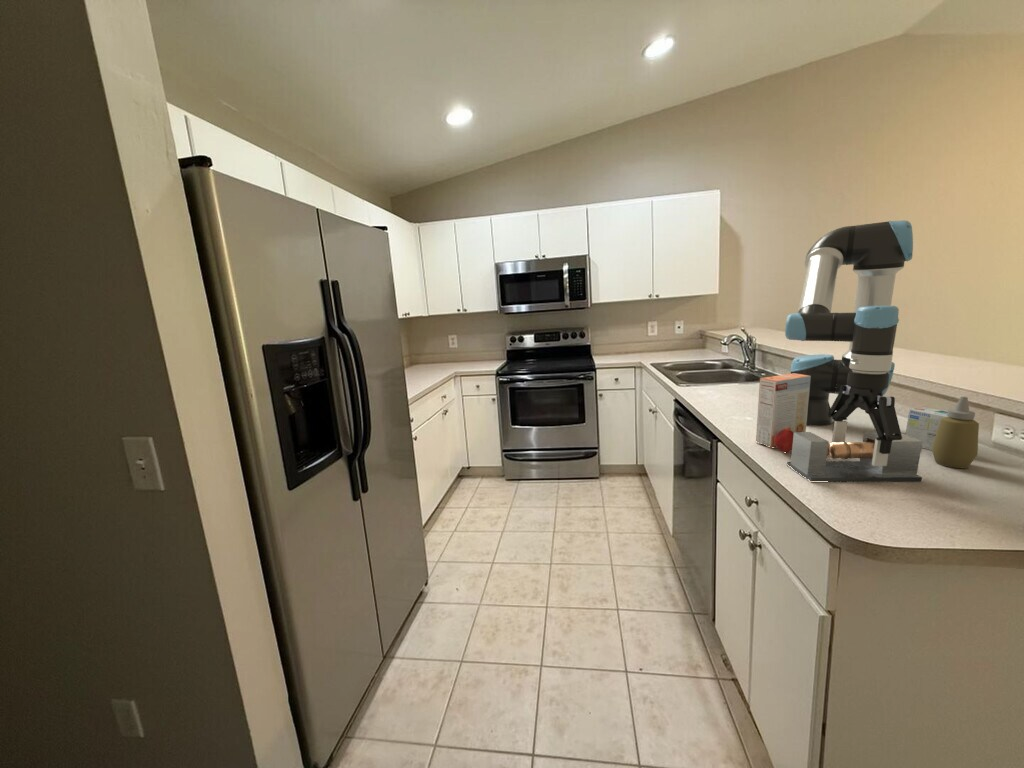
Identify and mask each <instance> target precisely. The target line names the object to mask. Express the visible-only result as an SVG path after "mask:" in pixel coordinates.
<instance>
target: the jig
mask: <svg viewBox="0 0 1024 768" xmlns="http://www.w3.org/2000/svg"><path fill="white" fill-rule="evenodd" d="M905 434H906V433H905ZM905 434H904V433H902V432H901V435H902V439H901V440H893V441H892V444H891V450H890V453H889V454H888V460H887V466H873V465H872V458H859V460H830V461H828V460H827V458H828V457H827V451H828V443H830V442H829V440H827V439H825V438H824V437H821V436H819V435H817V434H815V433H813V432H811V431H806V432H794V436H793V445H792V451H791V456H790V457H791V458H790V461H787V462H786V465H787V464H788V465H789V466H791V467H792V468H793V469H794V470H795V471H797V472H798V473H800V474H801V475H802V476H804V477H806V478H807V479H809V480H810V481H828V482H827V483H920V482H921V483H922V482H923V476H921V475H920V474H918V469H919V464H920V458H921V454H922V453H921V451H922V448H921V447H922V442H923V441H921V440H918V439H915V438H913V437H910V436H907V435H905ZM884 435H885V433H884ZM893 435H895V434H893ZM875 438H878V434H877V432H876V431H867V432H866V431H864V432H863V435H862V441H861V442H875ZM794 470H793V471H794ZM795 471H794V472H795ZM798 473H797V474H798ZM801 475H800V476H801ZM802 476H801V477H802ZM804 477H803V478H804Z"/></svg>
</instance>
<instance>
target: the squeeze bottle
mask: <svg viewBox="0 0 1024 768" xmlns="http://www.w3.org/2000/svg"><path fill="white" fill-rule="evenodd" d="M947 411H948V412H947V416H948V417H944V418H942V419H941V421H940V424H939V426H938V429H937V432H936V435H935V438H934V441H933V444H932V447H931V448H932V450H931V451H932V455H933V458H934V461H935V462H936V463H937V464H939V465H942V466H944V467H949V468H955V469H968V468H969V466H970V465H971V464H972V463H973V461H974V460H975V459H976V458H977V456H978V451H979V427H980V426H979V425H980V423H978V421H976V420H974V419H975V417H976V412H975V411H973V410H970V406H969V398H968V397H967V396H960V397H959V399H958V402H957V403H956V405H955V407H954V408H949V409H948V410H947Z"/></svg>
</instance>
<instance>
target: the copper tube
mask: <svg viewBox="0 0 1024 768" xmlns="http://www.w3.org/2000/svg"><path fill="white" fill-rule="evenodd" d="M874 445H875V442H862V441H851V442H849V441H848V442H847V441H845V442H837V443H832V442H829V443H828V451H827V458H828V459H831V460H832V459H834V460H835V459H836V460H838V459H839V460H849V459H850V460H851V459H860V458H873V452H874Z"/></svg>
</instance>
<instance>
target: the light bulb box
mask: <svg viewBox="0 0 1024 768" xmlns="http://www.w3.org/2000/svg"><path fill="white" fill-rule="evenodd" d="M947 412H948V410H944V409H937V408H932V407H928V406H921V407H913V408H909V410H908V417H907V422H906V428H905V435H907V436H910V437H913V438H915V439H918V440H921V441H923V442H922V447H921V449H926V450H929V451H932V448H931V447H932V444H933V441H934V438H935V435H936V432H937V429H938V426H939V424H940V421H941V419H942V418H944V417H948V416H947Z"/></svg>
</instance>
